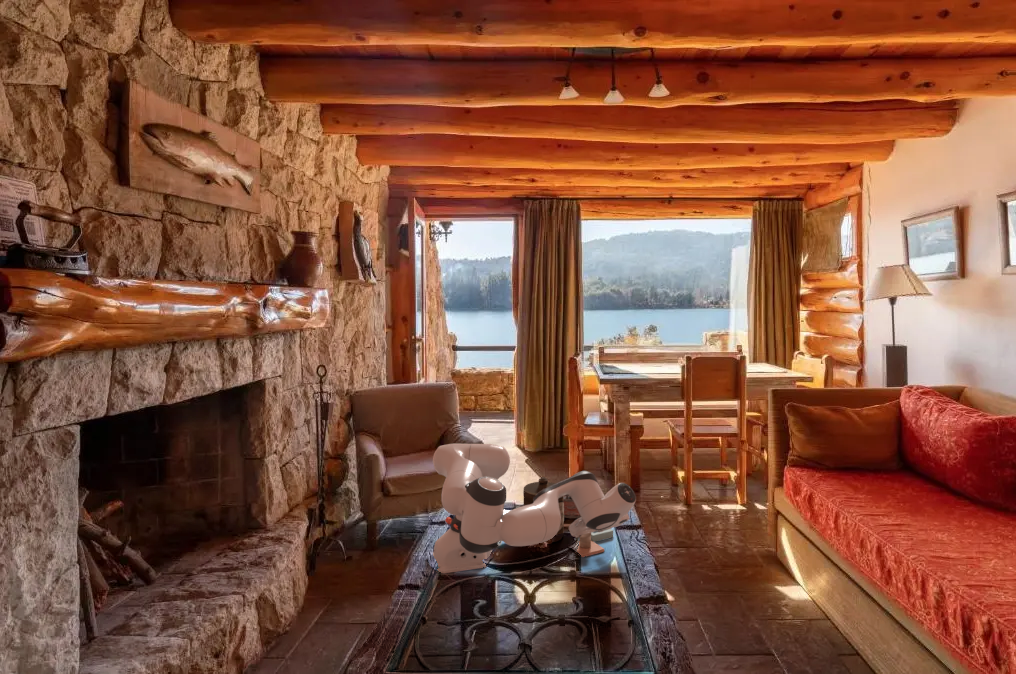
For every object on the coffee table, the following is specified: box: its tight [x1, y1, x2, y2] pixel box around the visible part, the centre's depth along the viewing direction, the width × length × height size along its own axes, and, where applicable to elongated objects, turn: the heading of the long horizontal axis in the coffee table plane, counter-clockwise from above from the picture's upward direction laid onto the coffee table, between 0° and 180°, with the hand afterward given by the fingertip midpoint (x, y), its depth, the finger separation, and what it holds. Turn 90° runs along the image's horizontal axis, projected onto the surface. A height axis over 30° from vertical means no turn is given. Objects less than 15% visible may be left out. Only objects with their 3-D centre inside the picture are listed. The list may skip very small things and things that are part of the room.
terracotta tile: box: [577, 541, 605, 558], centre depth 212 cm, size 9×9×1 cm
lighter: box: [563, 494, 581, 519], centre depth 241 cm, size 8×3×10 cm, turn 84°
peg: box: [578, 533, 591, 549], centre depth 212 cm, size 4×4×8 cm
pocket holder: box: [591, 528, 614, 543], centre depth 223 cm, size 9×9×2 cm
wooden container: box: [522, 476, 565, 535], centre depth 222 cm, size 15×15×22 cm
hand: (587, 532), depth 210 cm, fingers open, 8 cm apart
